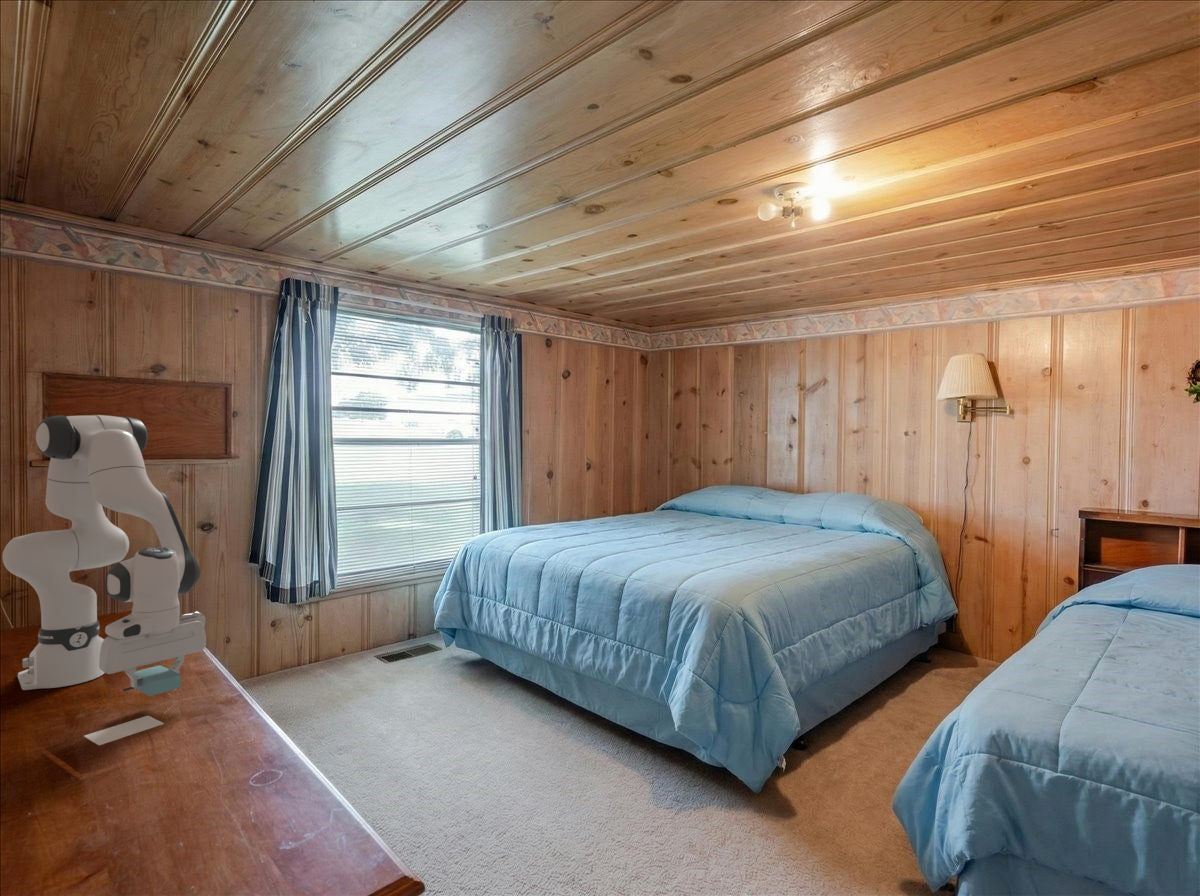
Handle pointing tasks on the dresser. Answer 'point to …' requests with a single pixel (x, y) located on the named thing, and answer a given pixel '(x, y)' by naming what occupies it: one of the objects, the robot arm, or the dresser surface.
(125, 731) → the mat
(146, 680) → the teal rectangular block
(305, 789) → the dresser surface
